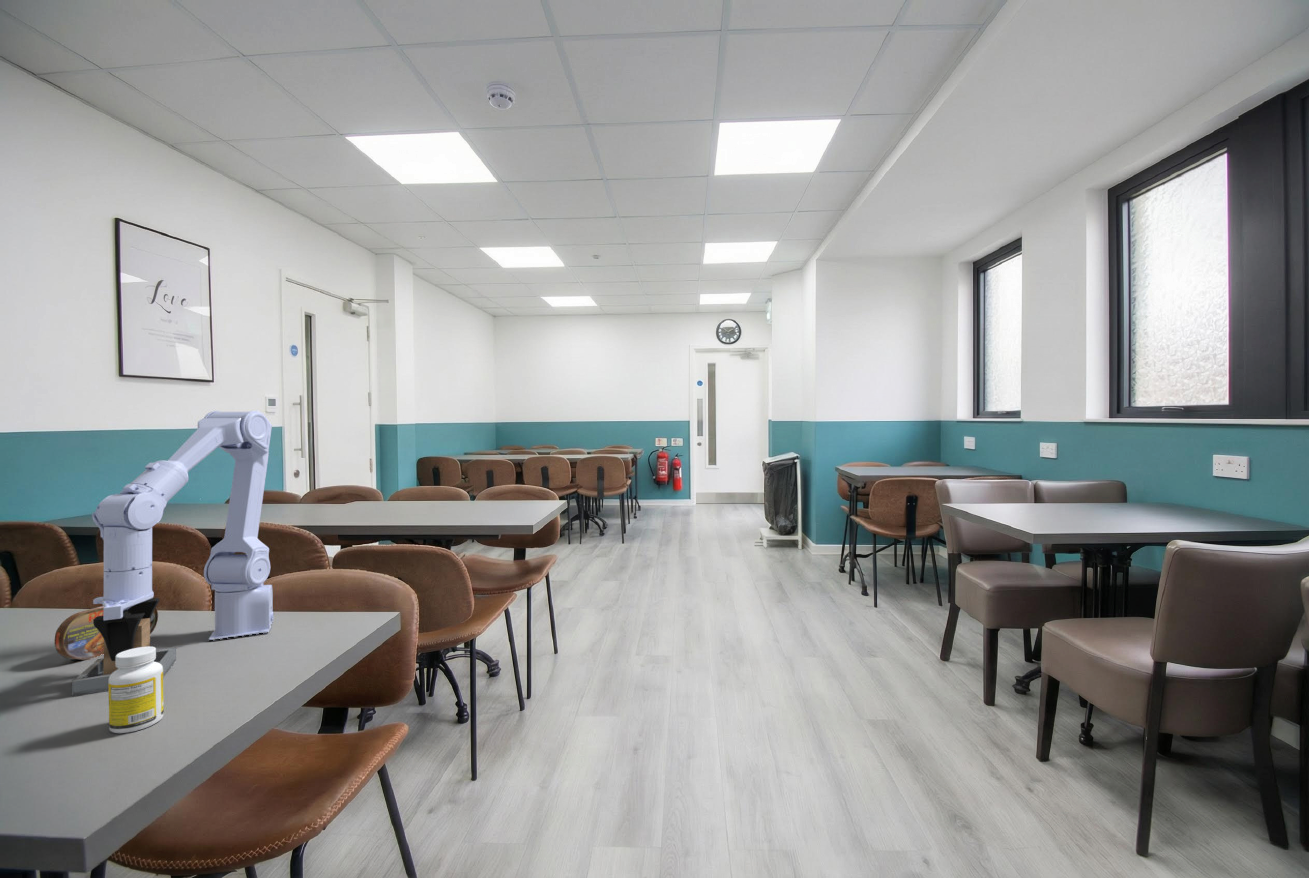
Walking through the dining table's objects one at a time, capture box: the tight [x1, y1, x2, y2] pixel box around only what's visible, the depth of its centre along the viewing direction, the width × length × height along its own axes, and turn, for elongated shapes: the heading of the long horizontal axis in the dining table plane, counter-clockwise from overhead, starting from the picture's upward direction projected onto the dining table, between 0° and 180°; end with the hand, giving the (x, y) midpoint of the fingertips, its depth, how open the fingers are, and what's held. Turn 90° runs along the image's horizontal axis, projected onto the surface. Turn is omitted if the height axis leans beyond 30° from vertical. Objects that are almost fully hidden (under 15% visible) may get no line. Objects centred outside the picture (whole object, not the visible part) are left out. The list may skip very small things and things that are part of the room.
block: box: [103, 618, 151, 675], centre depth 90 cm, size 4×4×8 cm
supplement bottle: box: [108, 645, 165, 734], centre depth 75 cm, size 5×5×10 cm
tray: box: [71, 647, 177, 697], centre depth 90 cm, size 10×10×2 cm
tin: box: [54, 605, 159, 661], centre depth 102 cm, size 15×3×8 cm, turn 168°
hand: (128, 652), depth 90 cm, fingers open, 6 cm apart
